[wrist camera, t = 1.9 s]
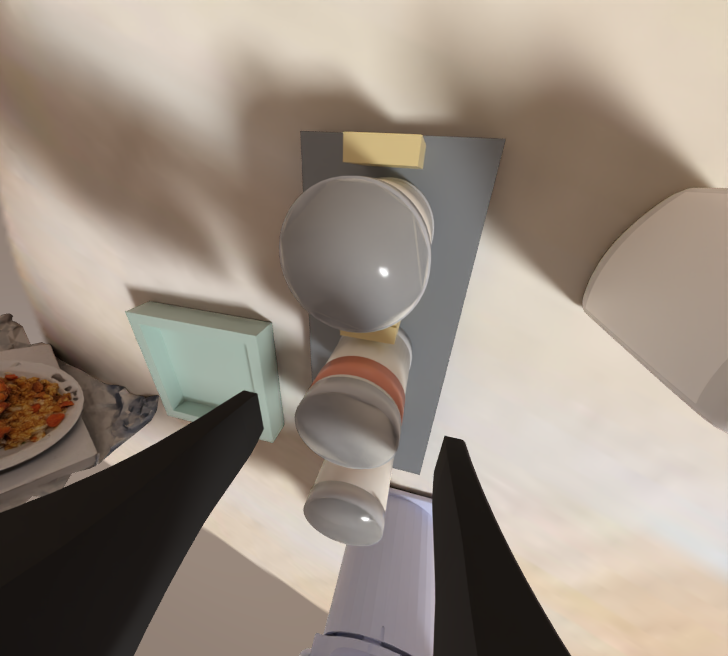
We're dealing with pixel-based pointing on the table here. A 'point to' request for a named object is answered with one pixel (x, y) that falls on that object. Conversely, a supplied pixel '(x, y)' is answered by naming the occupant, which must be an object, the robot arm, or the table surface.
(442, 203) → the fuse holder
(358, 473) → the fuse
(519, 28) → the table surface
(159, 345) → the tray
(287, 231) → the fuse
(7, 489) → the meal
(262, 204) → the table surface
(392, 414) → the cylinder
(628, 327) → the eye dropper bottle
